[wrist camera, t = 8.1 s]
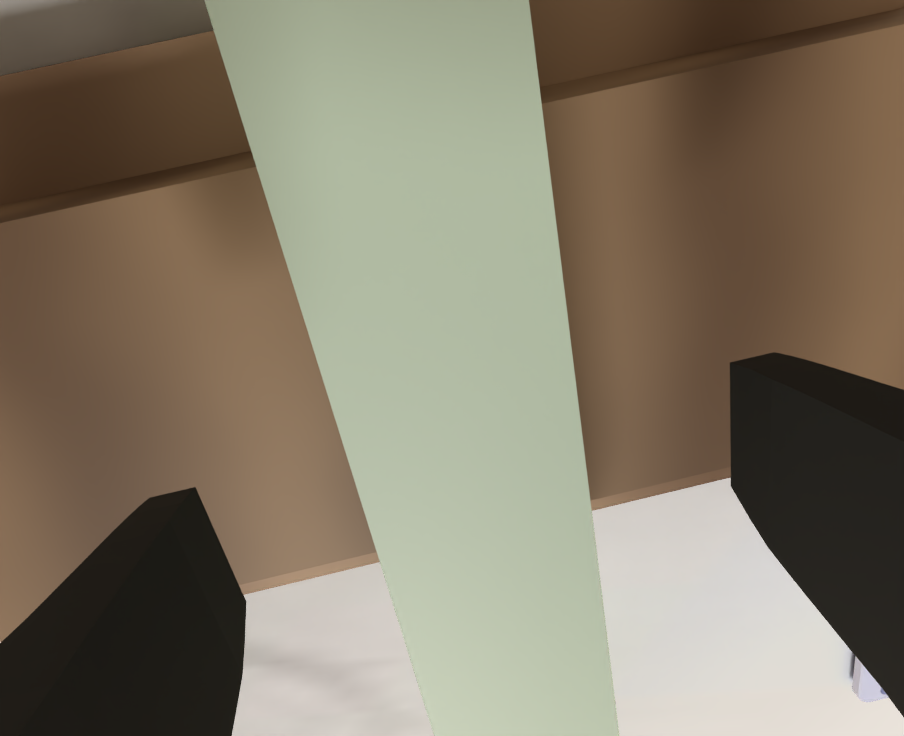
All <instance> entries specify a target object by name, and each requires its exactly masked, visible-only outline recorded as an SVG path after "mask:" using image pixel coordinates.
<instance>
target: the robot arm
mask: <svg viewBox="0 0 904 736" xmlns="http://www.w3.org/2000/svg"><path fill="white" fill-rule="evenodd" d="M730 443H731V487H732V489H733V490H734V492H735V494H736V495H737V497H738V499H739V501H740V502H741V504H742V506H743V507H744V509H745V511H746V513H747V514H748V516H749V518H750V519H751V521H752V523H753V524H754V526H755V527H756V529H757V531H758V532H759V534H760V535H761V537H762V538H763V540H764V542H765V543H766V545H767V546H768V548H769V549H770V550H771V552H772V553H773V554H774V556H775V557H776V558H777V559H778V561H779V562H780V563H781V564H782V566H783V567H784V568H785V569H786V571H787V572H788V573H789V574H790V576H791V577H792V578H793V579H794V581H795V582H796V583H797V584H798V586H799V587H800V588H801V589H802V591H803V592H804V593H805V594H806V596H807V597H808V598H809V599H810V601H811V602H812V603H813V604H814V606H815V607H816V608H817V609H818V610H819V612H820V613H821V614H822V615H823V617H824V618H825V619H826V620H827V621H828V623H829V624H830V625H831V626H832V628H833V629H834V630H835V631H836V632H837V634H838V635H839V636H840V637H841V639H842V640H843V641H844V642H845V644H846V645H847V646H848V647H849V648H850V650H851V651H852V652H853V653H854V655H855V665H854V674H853V683H852V689H853V692H854V693H855V694H856V696H857V697H858V698H859V699H860V700H861V701H864V702H872V701H876V700H880V699H884V698H888V697H889V698H890V699H891V701H892V702H893V703H894V705H895V706H896V707H897V709H898V710H899V711H900V713H901V714H902V715H903V717H904V390H903V389H899V388H896V387H893V386H890V385H887V384H884V383H880V382H877V381H874V380H871V379H868V378H865V377H861V376H858V375H855V374H852V373H849V372H845V371H842V370H839V369H836V368H833V367H829V366H826V365H823V364H819V363H816V362H812V361H809V360H805V359H802V358H798V357H794V356H790V355H785V354H781V353H776V352H772V353H768V354H764V355H760V356H755V357H751V358H747V359H742V360H738V361H734V362H730ZM245 619H246V600H245V598H244V596H243V593H242V591H241V589H240V587H239V584H238V582H237V580H236V577H235V575H234V573H233V571H232V568H231V566H230V564H229V562H228V559H227V557H226V555H225V553H224V550H223V548H222V546H221V544H220V541H219V539H218V537H217V535H216V532H215V530H214V528H213V525H212V523H211V521H210V519H209V516H208V514H207V512H206V510H205V507H204V505H203V503H202V501H201V498H200V496H199V494H198V492H197V489H196V487H193V488H189V489H185V490H180V491H176V492H172V493H167V494H163V495H159V496H154V497H150V498H148V499H147V500H146V501H145V502H144V503H142V504H141V505H140V506H139V507H138V508H137V509H136V510H134V511H133V512H132V513H131V514H130V515H129V516H128V517H127V518H126V519H125V520H124V521H123V522H122V523H121V524H120V525H119V526H118V527H117V528H116V529H115V530H114V531H113V532H112V533H111V534H110V535H109V536H108V537H107V538H106V539H105V540H104V541H103V542H102V543H101V544H100V545H99V546H98V547H97V548H96V549H95V550H94V551H93V552H92V553H91V554H90V555H89V556H88V557H87V558H86V559H85V560H84V561H83V562H82V563H81V564H80V565H79V566H78V567H77V568H76V569H75V570H74V571H73V572H72V573H71V574H70V575H69V576H68V577H67V578H66V579H65V580H64V581H63V582H62V583H61V584H60V585H59V586H58V587H57V588H56V589H55V590H54V591H53V592H52V593H51V594H50V595H49V596H48V597H47V598H46V599H45V600H44V601H43V602H42V603H41V604H40V605H39V606H38V607H37V608H36V609H35V610H34V611H33V612H32V613H31V614H30V615H29V616H28V617H27V618H26V619H25V620H24V621H23V622H22V623H21V624H20V625H19V626H18V627H17V628H16V629H15V630H14V631H13V632H12V633H11V634H9V635H8V636H7V637H6V638H5V639H4V640H3V641H2V642H1V643H0V736H232V730H233V725H234V719H235V714H236V708H237V703H238V697H239V691H240V686H241V680H242V673H243V658H244V643H245Z"/></svg>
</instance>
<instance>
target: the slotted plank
mask: <svg viewBox="0 0 904 736" xmlns="http://www.w3.org/2000/svg"><path fill="white" fill-rule="evenodd" d="M529 5H530V14H531V22H532V30H533V38H534V46H535V54H536V62H537V70H538V79H539V87H540V95H541V103H542V111H543V119H544V127H545V136H546V144H547V152H548V160H549V168H550V176H551V184H552V192H553V201H554V209H555V217H556V225H557V233H558V241H559V249H560V258H561V266H562V274H563V282H564V290H565V298H566V306H567V314H568V323H569V331H570V339H571V347H572V355H573V363H574V371H575V380H576V388H577V396H578V404H579V412H580V420H581V428H582V436H583V445H584V453H585V461H586V469H587V477H588V485H589V493H590V502H591V510H592V511H593V510H597V509H601V508H605V507H609V506H613V505H618V504H622V503H626V502H630V501H634V500H638V499H642V498H647V497H651V496H655V495H659V494H663V493H667V492H672V491H676V490H680V489H684V488H688V487H692V486H696V485H701V484H705V483H709V482H713V481H717V480H721V479H725V478H730V477H731V443H730V362H734V361H738V360H742V359H747V358H751V357H755V356H760V355H764V354H768V353H772V352H776V353H781V354H785V355H790V356H794V357H798V358H802V359H805V360H809V361H812V362H816V363H819V364H823V365H826V366H829V367H833V368H836V369H839V370H842V371H845V372H849V373H852V374H855V375H858V376H861V377H865V378H868V379H871V380H874V381H877V382H880V383H884V384H887V385H890V386H893V387H896V388H899V389H903V390H904V0H529ZM193 487H196V489H197V492H198V494H199V496H200V498H201V501H202V503H203V505H204V507H205V510H206V512H207V514H208V516H209V519H210V521H211V523H212V525H213V528H214V530H215V532H216V535H217V537H218V539H219V541H220V544H221V546H222V548H223V550H224V553H225V555H226V557H227V559H228V562H229V564H230V566H231V568H232V571H233V573H234V575H235V577H236V580H237V582H238V584H239V587H240V589H241V591H242V593H243V595H244V594H248V593H253V592H257V591H261V590H265V589H269V588H273V587H277V586H282V585H286V584H290V583H294V582H298V581H302V580H306V579H311V578H315V577H319V576H323V575H327V574H331V573H335V572H340V571H344V570H348V569H352V568H356V567H360V566H365V565H369V564H373V563H377V562H380V561H379V558H378V554H377V551H376V548H375V545H374V542H373V538H372V535H371V532H370V529H369V526H368V522H367V519H366V516H365V513H364V510H363V507H362V503H361V500H360V497H359V494H358V491H357V487H356V484H355V481H354V478H353V475H352V471H351V468H350V465H349V462H348V459H347V455H346V452H345V449H344V446H343V443H342V439H341V436H340V433H339V430H338V427H337V423H336V420H335V417H334V414H333V411H332V407H331V404H330V401H329V398H328V395H327V391H326V388H325V385H324V382H323V379H322V375H321V372H320V369H319V366H318V363H317V359H316V356H315V353H314V350H313V347H312V343H311V340H310V337H309V334H308V331H307V327H306V324H305V321H304V318H303V315H302V311H301V308H300V305H299V302H298V299H297V295H296V292H295V289H294V286H293V283H292V279H291V276H290V273H289V270H288V267H287V263H286V260H285V257H284V254H283V251H282V247H281V244H280V241H279V238H278V235H277V231H276V228H275V225H274V222H273V219H272V215H271V212H270V209H269V206H268V203H267V199H266V196H265V193H264V190H263V187H262V183H261V180H260V177H259V174H258V171H257V167H256V164H255V161H254V158H253V155H252V151H251V148H250V145H249V142H248V139H247V135H246V132H245V129H244V126H243V123H242V119H241V116H240V113H239V110H238V107H237V103H236V100H235V97H234V94H233V91H232V87H231V84H230V81H229V78H228V75H227V71H226V68H225V65H224V62H223V59H222V56H221V52H220V49H219V46H218V43H217V40H216V36H215V33H214V31H209V32H204V33H200V34H195V35H190V36H186V37H181V38H176V39H171V40H167V41H162V42H157V43H153V44H148V45H143V46H139V47H134V48H129V49H125V50H120V51H115V52H110V53H106V54H101V55H96V56H92V57H87V58H82V59H78V60H73V61H68V62H64V63H59V64H54V65H49V66H45V67H40V68H35V69H31V70H26V71H21V72H17V73H12V74H7V75H3V76H0V641H1V642H2V641H3V640H4V639H5V638H6V637H7V636H8V635H9V634H11V633H12V632H13V631H14V630H15V629H16V628H17V627H18V626H19V625H20V624H21V623H22V622H23V621H24V620H25V619H26V618H27V617H28V616H29V615H30V614H31V613H32V612H33V611H34V610H35V609H36V608H37V607H38V606H39V605H40V604H41V603H42V602H43V601H44V600H45V599H46V598H47V597H48V596H49V595H50V594H51V593H52V592H53V591H54V590H55V589H56V588H57V587H58V586H59V585H60V584H61V583H62V582H63V581H64V580H65V579H66V578H67V577H68V576H69V575H70V574H71V573H72V572H73V571H74V570H75V569H76V568H77V567H78V566H79V565H80V564H81V563H82V562H83V561H84V560H85V559H86V558H87V557H88V556H89V555H90V554H91V553H92V552H93V551H94V550H95V549H96V548H97V547H98V546H99V545H100V544H101V543H102V542H103V541H104V540H105V539H106V538H107V537H108V536H109V535H110V534H111V533H112V532H113V531H114V530H115V529H116V528H117V527H118V526H119V525H120V524H121V523H122V522H123V521H124V520H125V519H126V518H127V517H128V516H129V515H130V514H131V513H132V512H133V511H134V510H136V509H137V508H138V507H139V506H140V505H141V504H142V503H144V502H145V501H146V500H147V499H148V498H150V497H154V496H159V495H163V494H167V493H172V492H176V491H180V490H185V489H189V488H193Z"/></svg>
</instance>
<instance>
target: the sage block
mask: <svg viewBox="0 0 904 736" xmlns="http://www.w3.org/2000/svg"><path fill="white" fill-rule="evenodd" d="M204 1H205V4H206V8H207V11H208V14H209V17H210V20H211V24H212V27H213V30H214V33H215V36H216V40H217V43H218V46H219V49H220V52H221V56H222V59H223V62H224V65H225V68H226V71H227V75H228V78H229V81H230V84H231V87H232V91H233V94H234V97H235V100H236V103H237V107H238V110H239V113H240V116H241V119H242V123H243V126H244V129H245V132H246V135H247V139H248V142H249V145H250V148H251V151H252V155H253V158H254V161H255V164H256V167H257V171H258V174H259V177H260V180H261V183H262V187H263V190H264V193H265V196H266V199H267V203H268V206H269V209H270V212H271V215H272V219H273V222H274V225H275V228H276V231H277V235H278V238H279V241H280V244H281V247H282V251H283V254H284V257H285V260H286V263H287V267H288V270H289V273H290V276H291V279H292V283H293V286H294V289H295V292H296V295H297V299H298V302H299V305H300V308H301V311H302V315H303V318H304V321H305V324H306V327H307V331H308V334H309V337H310V340H311V343H312V347H313V350H314V353H315V356H316V359H317V363H318V366H319V369H320V372H321V375H322V379H323V382H324V385H325V388H326V391H327V395H328V398H329V401H330V404H331V407H332V411H333V414H334V417H335V420H336V423H337V427H338V430H339V433H340V436H341V439H342V443H343V446H344V449H345V452H346V455H347V459H348V462H349V465H350V468H351V471H352V475H353V478H354V481H355V484H356V487H357V491H358V494H359V497H360V500H361V503H362V507H363V510H364V513H365V516H366V519H367V522H368V526H369V529H370V532H371V535H372V538H373V542H374V545H375V548H376V551H377V554H378V558H379V561H380V564H381V567H382V570H383V574H384V577H385V580H386V583H387V586H388V590H389V593H390V596H391V599H392V602H393V606H394V609H395V612H396V615H397V618H398V622H399V625H400V628H401V631H402V634H403V638H404V641H405V644H406V647H407V650H408V654H409V657H410V660H411V663H412V666H413V670H414V673H415V676H416V679H417V682H418V686H419V689H420V692H421V695H422V698H423V702H424V705H425V708H426V711H427V714H428V718H429V721H430V724H431V727H432V730H433V734H434V736H619V729H618V721H617V713H616V705H615V697H614V689H613V680H612V672H611V664H610V656H609V648H608V640H607V632H606V624H605V615H604V607H603V599H602V591H601V583H600V575H599V567H598V558H597V550H596V542H595V534H594V526H593V518H592V510H591V502H590V493H589V485H588V477H587V469H586V461H585V453H584V445H583V436H582V428H581V420H580V412H579V404H578V396H577V388H576V380H575V371H574V363H573V355H572V347H571V339H570V331H569V323H568V314H567V306H566V298H565V290H564V282H563V274H562V266H561V258H560V249H559V241H558V233H557V225H556V217H555V209H554V201H553V192H552V184H551V176H550V168H549V160H548V152H547V144H546V136H545V127H544V119H543V111H542V103H541V95H540V87H539V79H538V70H537V62H536V54H535V46H534V38H533V30H532V22H531V14H530V5H529V0H204Z"/></svg>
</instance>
